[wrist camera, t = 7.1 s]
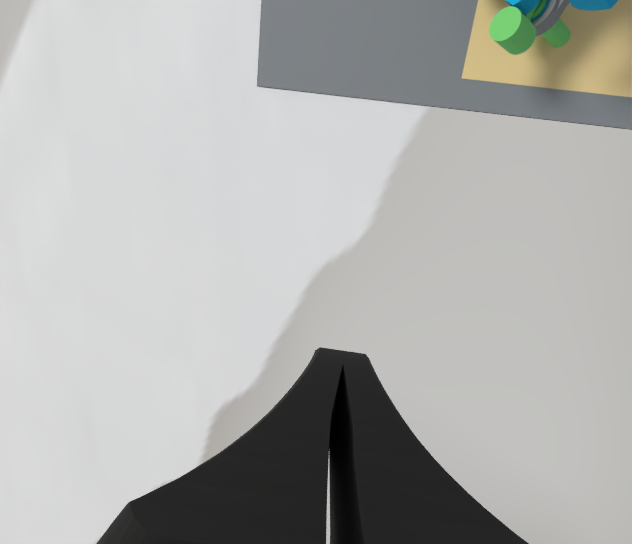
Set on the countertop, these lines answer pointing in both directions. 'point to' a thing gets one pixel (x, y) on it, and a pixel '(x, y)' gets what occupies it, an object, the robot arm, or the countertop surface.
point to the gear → (536, 22)
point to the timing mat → (450, 58)
